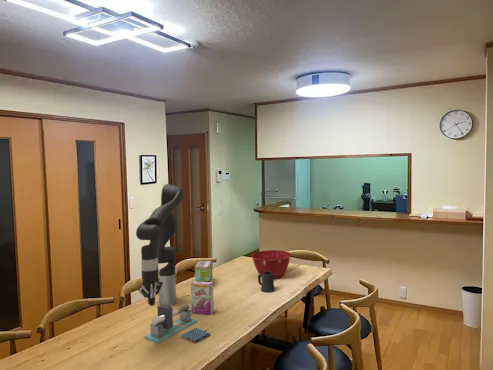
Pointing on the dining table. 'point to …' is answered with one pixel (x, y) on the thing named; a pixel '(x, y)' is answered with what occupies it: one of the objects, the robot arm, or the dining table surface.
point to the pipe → (157, 327)
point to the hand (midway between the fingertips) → (151, 305)
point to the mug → (267, 282)
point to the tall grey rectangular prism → (166, 316)
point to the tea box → (203, 271)
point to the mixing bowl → (271, 262)
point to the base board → (171, 330)
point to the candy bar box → (202, 297)
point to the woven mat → (195, 335)
